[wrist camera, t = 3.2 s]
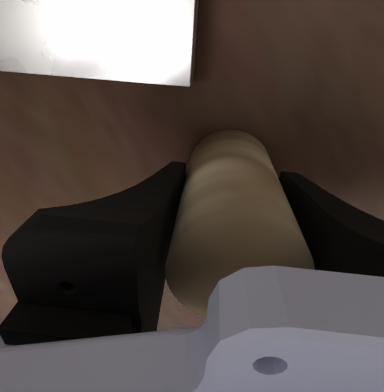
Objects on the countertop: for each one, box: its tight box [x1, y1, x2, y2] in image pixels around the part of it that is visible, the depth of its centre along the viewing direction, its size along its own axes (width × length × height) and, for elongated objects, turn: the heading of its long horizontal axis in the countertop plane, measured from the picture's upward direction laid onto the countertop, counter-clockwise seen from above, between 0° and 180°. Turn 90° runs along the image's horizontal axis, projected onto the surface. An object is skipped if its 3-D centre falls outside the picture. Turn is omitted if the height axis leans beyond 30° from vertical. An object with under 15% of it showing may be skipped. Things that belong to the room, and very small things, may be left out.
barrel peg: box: [165, 129, 315, 317], centre depth 10 cm, size 4×4×7 cm
